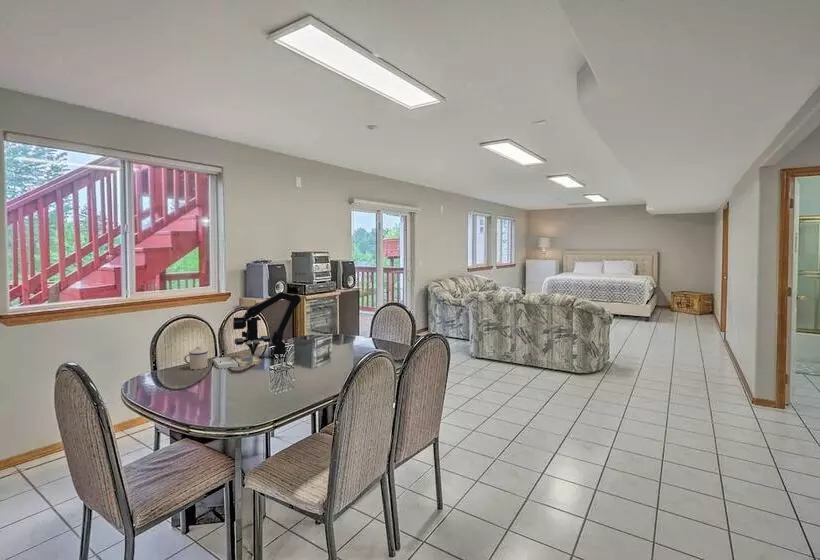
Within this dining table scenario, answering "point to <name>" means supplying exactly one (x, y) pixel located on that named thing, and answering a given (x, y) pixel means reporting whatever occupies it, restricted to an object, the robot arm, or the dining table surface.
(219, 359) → the tray
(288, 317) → the robot arm
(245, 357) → the slate tile
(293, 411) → the dining table surface
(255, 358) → the birch board
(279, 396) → the dining table surface
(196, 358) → the teacup with lid
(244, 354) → the terracotta tile
